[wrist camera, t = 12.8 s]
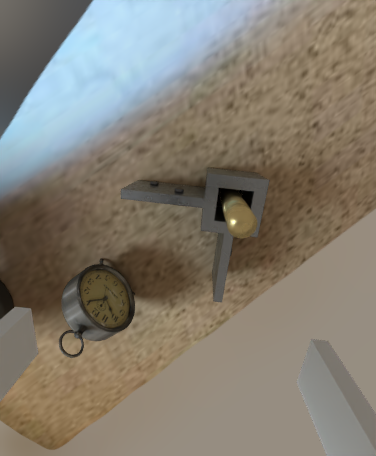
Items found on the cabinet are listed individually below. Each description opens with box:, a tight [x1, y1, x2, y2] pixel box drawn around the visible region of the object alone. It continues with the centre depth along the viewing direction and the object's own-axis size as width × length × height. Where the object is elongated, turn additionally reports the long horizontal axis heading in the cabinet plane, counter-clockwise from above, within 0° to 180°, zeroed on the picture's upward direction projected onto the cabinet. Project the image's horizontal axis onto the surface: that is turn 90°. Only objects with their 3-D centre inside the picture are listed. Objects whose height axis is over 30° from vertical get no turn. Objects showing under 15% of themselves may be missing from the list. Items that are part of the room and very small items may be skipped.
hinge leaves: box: [121, 168, 270, 302], centre depth 34 cm, size 18×18×8 cm
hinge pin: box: [219, 188, 257, 238], centre depth 29 cm, size 3×3×15 cm
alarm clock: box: [59, 259, 135, 358], centre depth 35 cm, size 11×5×16 cm, turn 37°
